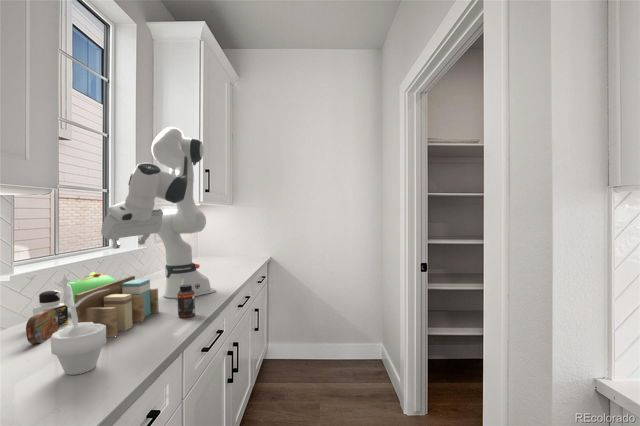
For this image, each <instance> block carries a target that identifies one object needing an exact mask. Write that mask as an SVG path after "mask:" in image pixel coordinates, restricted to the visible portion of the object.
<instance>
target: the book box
mask: <svg viewBox="0 0 640 426" xmlns="http://www.w3.org/2000/svg"><path fill="white" fill-rule="evenodd" d="M104 307H117V331H127V330H128V328H129V329H131V328H132V327H133V322H132V298H131V294H111V295H108V296H106V297H104ZM130 327H131V328H130ZM126 329H127V330H126Z"/></svg>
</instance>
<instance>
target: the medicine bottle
mask: <svg viewBox="0 0 640 426" xmlns="http://www.w3.org/2000/svg"><path fill="white" fill-rule="evenodd" d="M57 293H58V290H54V289H52V290H47V291H43V292H41V293H39V295H38V298H39V299H38V300H39V301H38V302H39V305H38V306H34V307H33V308H32V312H33V313H32V314H33V315H32V316H34V315H36V314H38V313H40V312H42V311H43V310H47V309H52V308H54V309H56V310H57V311H58V314H59V318H60V323H59V327H62V326H65V325H68V324H69V309H68V307H67V306H66V305H65V304H64V302H63V303H61V302H62V292H61V291H59V293H61V295H60V297H58V296H57V295H56V294H57Z"/></svg>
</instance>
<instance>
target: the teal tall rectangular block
mask: <svg viewBox="0 0 640 426" xmlns="http://www.w3.org/2000/svg"><path fill="white" fill-rule="evenodd" d="M150 281H151V280H150V278H149V279H135V280H131V281H128V282H125V283H123V284H122V294H131V295H143V305H144V318H146V317H147V316H149V315H151V314H152V313H151V305H150V289H151V282H150Z"/></svg>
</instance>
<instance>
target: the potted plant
mask: <svg viewBox="0 0 640 426" xmlns="http://www.w3.org/2000/svg"><path fill="white" fill-rule="evenodd" d="M68 282H71V280H69V279H67V277H66V274H65V273H64V274H63V278H62V280H60V281H58V282H55V285H58V286H59V285H60V287H61V286H62V287H61V288H62V289H63V296H62V292H61V293H59V290H57V291H58V293H57V294H56V295H57V296H58V297H60V295H61V296H62V297H63V298H62V299H63V303H64V304H65V305H66V306H67V307H68V308H70V317H71V320H72V325H67V326H66V327H64V328H62V329H58V331H57V332H55V333H53V334H52V336H51V337H50V348H51V350H50V351H51V352H50V353H51V354H52V355H54V356H56V358H57V360H58V362H59V363H60V365H61V369H62V370H63V372H64V373H65V374H67V375H71V376H76V375H82V373H83V374H85V372H86V373H88V372H90V371H92V370H93V369H95V368H96V367H97V364H98V361H99V358H100V355H101V351H102V347H103V346H105V345H107V338H106V325H103V324H93V322H81V323H78V317H77V312H76V307H78V305H79V304H80V303H81V302H82V301H84V300H85V299H86V298H88V297H89V296H92V295H94V294H96V293H99V292H103V291H106V290H109V289H106V290H101V291H97V292H94V293H92V294H90V295H87V296H86V297H84V298H82V299H81V300H79V301H78V302H77V303H76V304H75V305H74V301H73V292H72V288H71V285H69V284H68Z"/></svg>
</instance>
